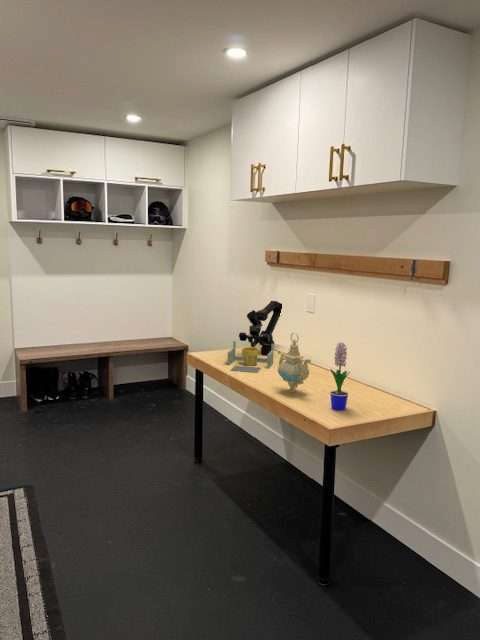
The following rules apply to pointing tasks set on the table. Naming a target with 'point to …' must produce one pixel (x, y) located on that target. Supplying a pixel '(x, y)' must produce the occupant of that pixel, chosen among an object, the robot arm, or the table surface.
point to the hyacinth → (339, 379)
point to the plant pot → (250, 355)
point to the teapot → (293, 366)
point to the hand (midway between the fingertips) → (252, 348)
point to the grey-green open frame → (232, 357)
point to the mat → (246, 369)
